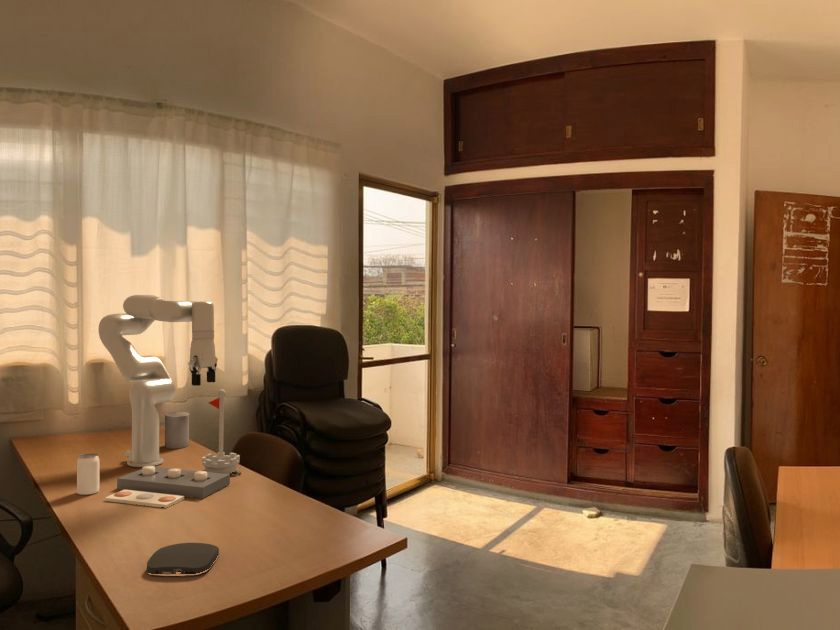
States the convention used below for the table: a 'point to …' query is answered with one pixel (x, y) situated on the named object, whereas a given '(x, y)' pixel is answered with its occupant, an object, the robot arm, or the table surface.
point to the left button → (148, 470)
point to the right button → (200, 476)
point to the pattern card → (144, 498)
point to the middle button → (174, 473)
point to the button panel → (173, 483)
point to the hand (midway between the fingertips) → (203, 383)
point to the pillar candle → (176, 430)
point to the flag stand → (220, 445)
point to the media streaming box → (183, 558)
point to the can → (88, 474)
